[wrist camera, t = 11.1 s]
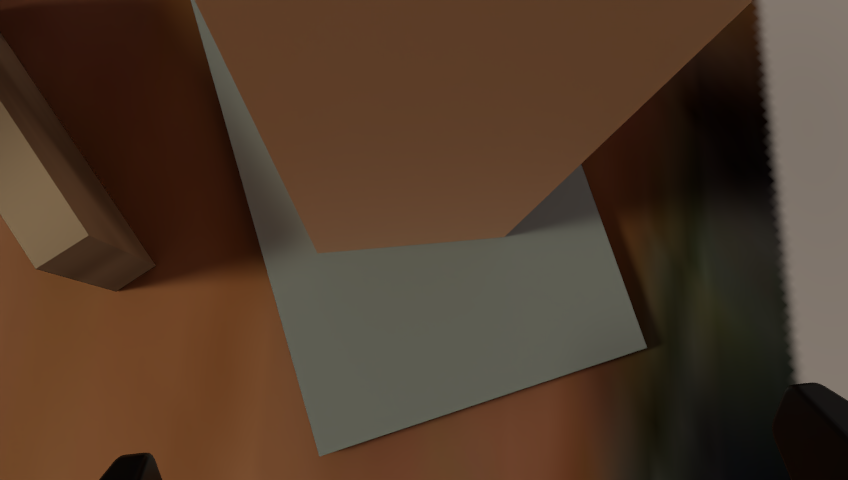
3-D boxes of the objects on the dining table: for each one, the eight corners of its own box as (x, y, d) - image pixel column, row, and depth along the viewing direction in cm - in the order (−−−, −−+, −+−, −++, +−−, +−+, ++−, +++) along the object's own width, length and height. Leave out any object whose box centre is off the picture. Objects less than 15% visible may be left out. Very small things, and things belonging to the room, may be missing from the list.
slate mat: (638, 348, 19) (647, 347, 19) (320, 453, 18) (319, 456, 18) (479, -98, 21) (482, -111, 21) (185, -27, 20) (179, -39, 20)
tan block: (504, 237, 19) (859, -102, 5) (317, 253, 18) (159, -72, 5) (483, 63, 20) (740, -630, 6) (304, 74, 19) (136, -646, 6)
